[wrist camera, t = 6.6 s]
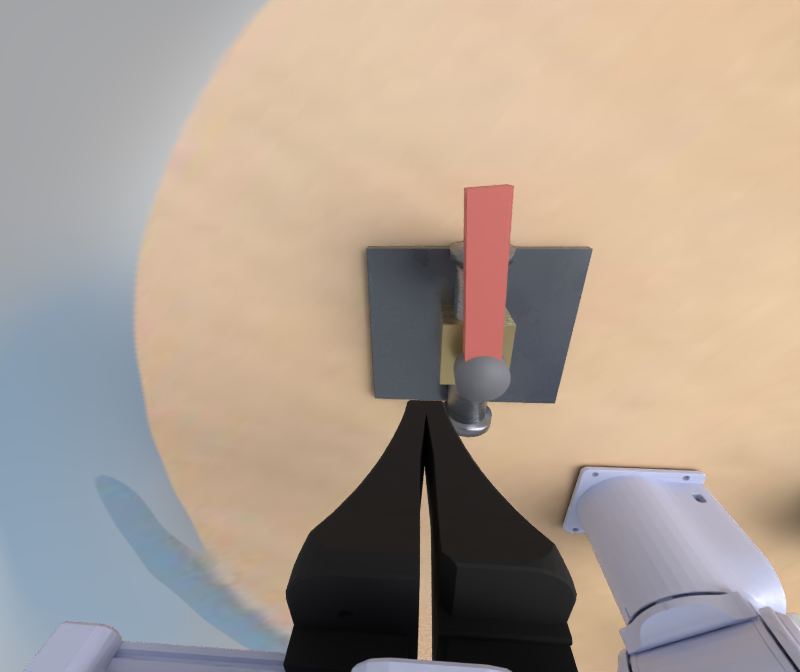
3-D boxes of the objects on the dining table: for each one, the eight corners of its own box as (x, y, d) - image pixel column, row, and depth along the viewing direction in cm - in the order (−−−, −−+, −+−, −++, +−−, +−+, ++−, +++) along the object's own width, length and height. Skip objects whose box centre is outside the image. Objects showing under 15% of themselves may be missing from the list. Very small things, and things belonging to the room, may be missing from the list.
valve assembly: (367, 237, 20) (354, 256, 16) (590, 238, 20) (632, 257, 16) (376, 398, 26) (367, 441, 22) (550, 403, 25) (574, 449, 21)
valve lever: (503, 388, 19) (508, 401, 18) (453, 389, 19) (455, 402, 18) (519, 183, 14) (527, 184, 13) (452, 188, 15) (454, 190, 13)
